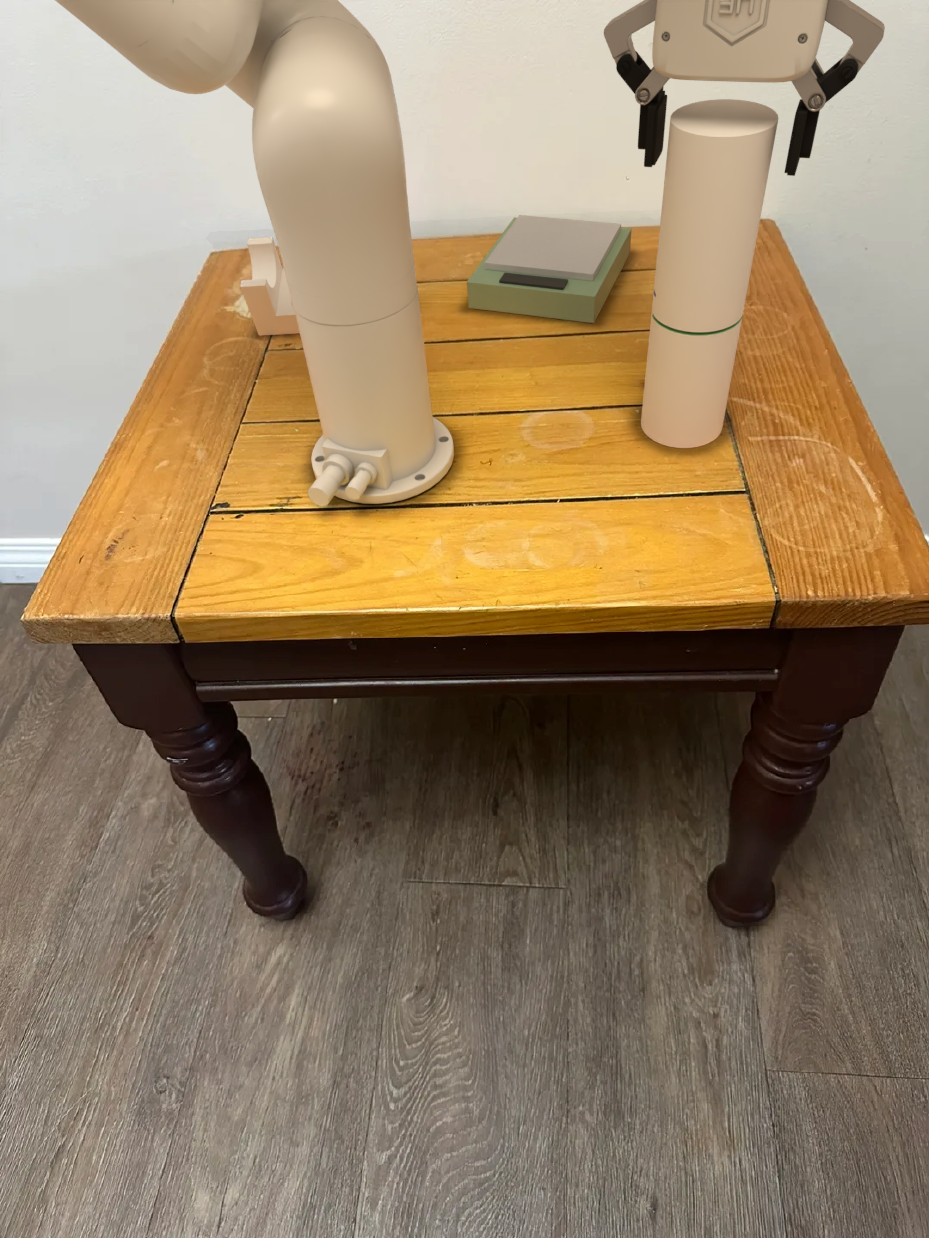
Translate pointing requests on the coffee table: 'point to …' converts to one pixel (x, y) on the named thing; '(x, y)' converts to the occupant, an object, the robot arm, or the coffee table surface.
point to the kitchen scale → (551, 268)
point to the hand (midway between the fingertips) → (720, 164)
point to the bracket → (268, 290)
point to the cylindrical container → (704, 264)
